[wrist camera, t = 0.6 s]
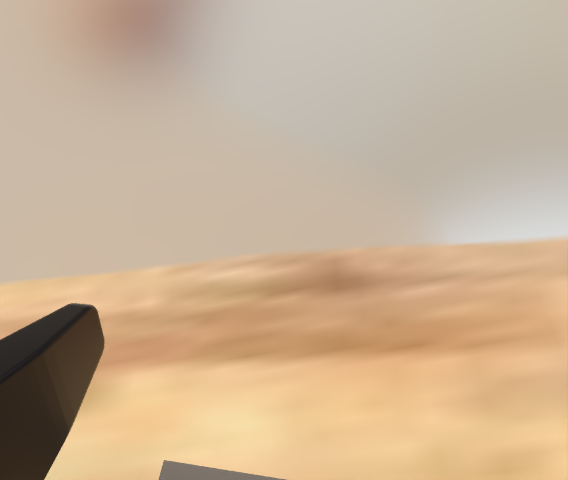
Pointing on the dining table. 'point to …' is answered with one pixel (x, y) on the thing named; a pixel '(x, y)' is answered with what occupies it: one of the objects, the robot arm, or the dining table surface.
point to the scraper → (203, 473)
